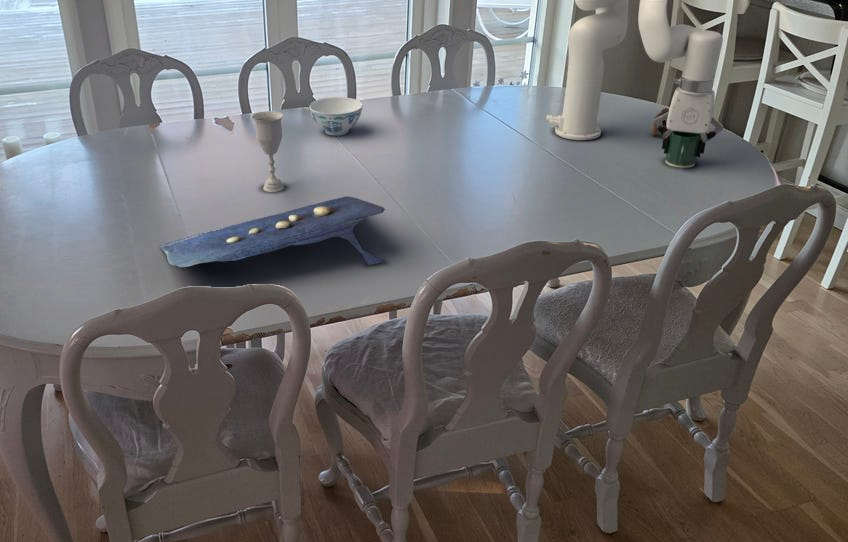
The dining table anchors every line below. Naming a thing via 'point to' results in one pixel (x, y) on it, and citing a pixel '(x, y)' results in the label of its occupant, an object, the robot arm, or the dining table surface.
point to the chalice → (269, 143)
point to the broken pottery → (655, 129)
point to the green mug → (682, 149)
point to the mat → (276, 233)
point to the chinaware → (336, 114)
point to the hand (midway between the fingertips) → (681, 153)
